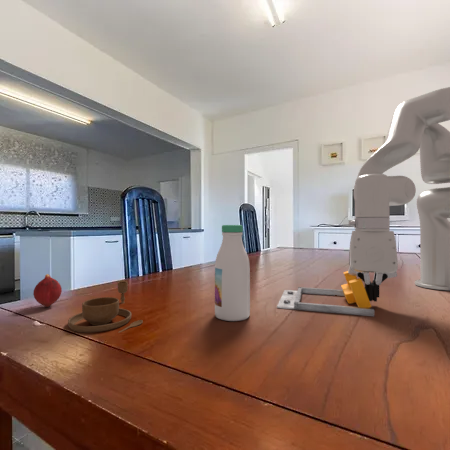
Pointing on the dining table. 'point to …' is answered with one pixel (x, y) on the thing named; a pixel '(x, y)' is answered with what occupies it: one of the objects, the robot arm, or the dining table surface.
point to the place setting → (103, 313)
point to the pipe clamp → (355, 291)
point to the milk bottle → (232, 276)
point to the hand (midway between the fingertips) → (371, 299)
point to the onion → (47, 291)
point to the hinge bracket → (292, 301)
